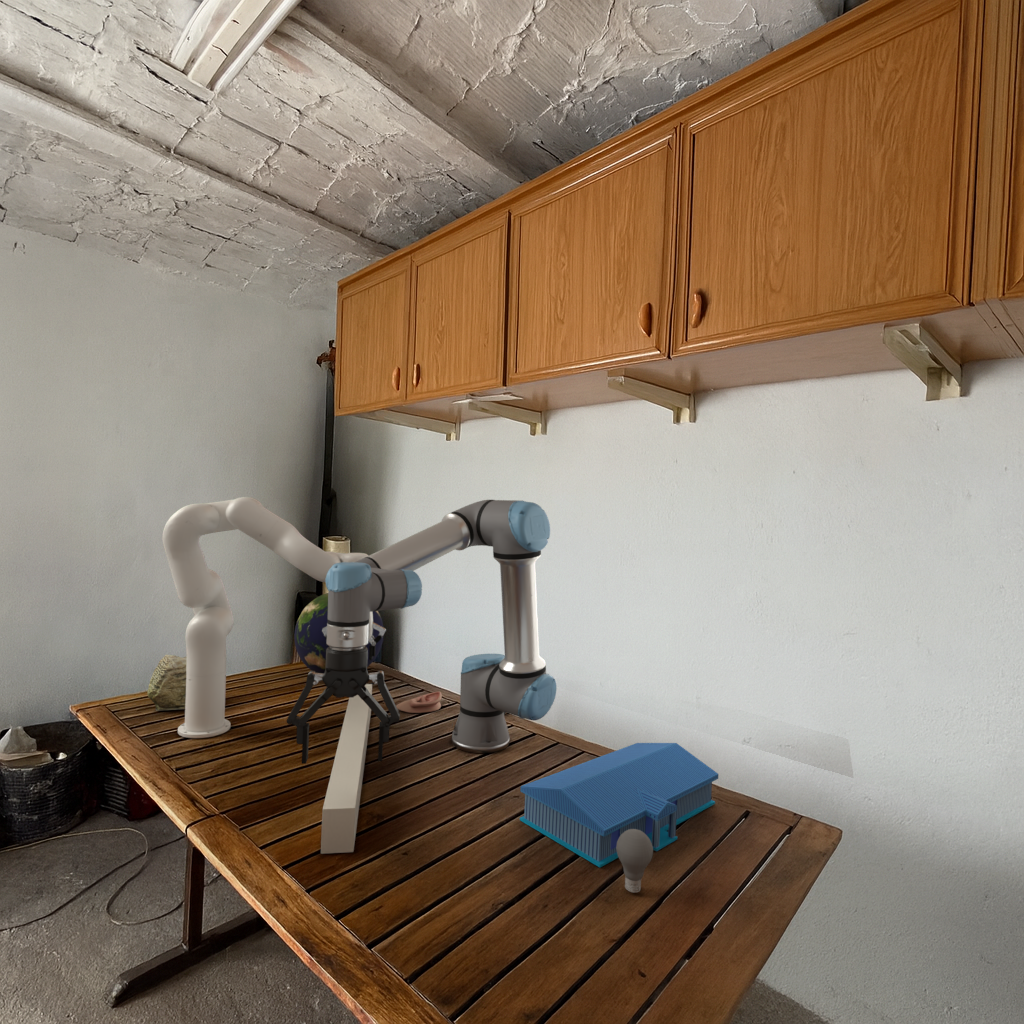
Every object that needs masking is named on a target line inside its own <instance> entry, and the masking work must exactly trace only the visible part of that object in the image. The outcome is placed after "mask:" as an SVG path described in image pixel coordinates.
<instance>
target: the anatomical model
mask: <svg viewBox="0 0 1024 1024" xmlns="http://www.w3.org/2000/svg"><path fill="white" fill-rule="evenodd" d="M442 698H443V693H442V692H441V691H434V692H429V693H425V694H422V695H419V696H417V697H413V698H411V699H407V700H404V701H402V702H401V701H400V702H399V703H398V704H395V705H396V707H397V709H398V711H401V712H405V713H408V714H409V713H410V714H411V713H412V714H417V713H418V714H419V713H420V714H421V713H431V712H435V711H438V710H439V709H441V707H442V704H441V700H442Z"/></svg>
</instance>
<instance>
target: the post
mask: <svg viewBox="0 0 1024 1024" xmlns="http://www.w3.org/2000/svg"><path fill="white" fill-rule="evenodd" d="M365 687H366V688H367V689H368V691H369V693H370V694H371V695H372V696H373V683H366V685H365ZM371 715H372V710H371V709H370V708H369V706H368V705H367V704H366V703H365V702H364V701H363V700H362V699H361V698H360V697H359V696H358V695H356V696H354V697H348V702H347V706H346V710H345V714H344V719H343V723H342V727H341V730H340V735H339V739H338V744H337V747H336V748H337V749H336V752H335V756H334V761H333V765H332V769H331V773H330V777H329V781H328V785H327V789H326V793H325V798H324V800H323V801H324V802H323V806H322V813H321V814H322V815H321V816H322V817H321V837H320V839H321V840H320V855H325V854H326V855H327V854H340V853H341V854H343V853H354V850H355V843H356V842H355V841H356V836H357V835H356V834H357V827H358V819H359V810H360V803H361V796H362V795H361V794H362V788H363V778H364V771H365V762H366V756H367V755H366V754H367V746H368V738H369V731H370V723H371Z"/></svg>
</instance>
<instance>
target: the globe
mask: <svg viewBox="0 0 1024 1024" xmlns="http://www.w3.org/2000/svg"><path fill="white" fill-rule="evenodd" d="M372 613H373V622H374V623H376V624H378V625H379V626H381V627H383V628H384V623H383V620H382V616H381V613H380V611H373V612H372ZM327 623H328V592H325V593H323V594H320V595H319V596H317V597H316V598H314V599H313V600H311V601H310V602H309V603H308V604H307V605H306V606H305V607H304V608H303V609H302V611H301V613H300V615H299V617H298V618H297V621H296V624H295V627H294V636H293V637H294V647H295V650H296V653H297V655H298V658H299V659H300V661H301V662H302V663H303V664H304V665H305V667H306V668H307V669H309V670H310V671H312V670H313V671H315V673H324V672H325V669H326V649H327V648H328V647H329V646H328V645H327V644H326V643H327V640H326V638H325V636H324V634H323V632H322V629H323V628H325V627H327ZM379 633H380V632H379V631H378V630H376V629H374V628H373V634H372V635H373V637H374V638H376V637H377V636H378V635H379ZM384 635H385V634H384ZM384 635H383V637H382V639H381V640H380V641H379V642H378V643H377V644H376V645H375V656H373V658H372V660H369V646H370V644H371V643H370V642H369V641H368V644H367V645H365V646H366V647H367V648H368V660H367V668H369V666H370V665H371V664H372V663H373V662H374V661H375V660H376V658H377V657H378V655H379V654H380V652H381V649H382V646H383V642H384Z"/></svg>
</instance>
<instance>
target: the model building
mask: <svg viewBox="0 0 1024 1024" xmlns="http://www.w3.org/2000/svg"><path fill="white" fill-rule="evenodd" d="M717 780H719V773H718V772H717V771H715V770H714V769H713V768H711V767H710V766H708V765H707V764H705V763H704V762H703V761H702V760H700V759H699V758H698V757H696V756H695V755H693V754H692V753H691V752H689V751H688V750H687V749H686V748H684V747H682V746H681V745H680V744H678V743H677V742H636V743H633V744H630V745H627V746H626V747H623V748H619V749H617V750H614V751H611V752H609V753H606V754H603V755H601V756H598V757H595V758H593V759H590V760H587V761H585V762H582V763H580V764H577V765H573V766H571V767H568V768H565V769H563V770H560V771H558V772H555V773H553V774H552V773H551V774H550V775H546V776H544V777H542V778H539V779H537V780H533V781H530V782H527V783H525V784H522V785H521V786H520V793H522V794H524V815H523V816H521V817H519V821H520V822H522V823H523V824H525V825H527V826H529V827H530V828H532V829H534V830H535V831H536V832H539V833H541V834H542V835H544V836H546V837H547V838H549V839H551V840H552V841H554V842H556V843H557V844H559V845H561V846H562V847H564V848H566V849H568V850H569V851H571V852H573V853H574V854H576V855H578V856H579V857H581V858H582V859H584V860H586V861H588V862H590V863H591V864H593V865H594V866H596V867H597V868H602V867H604V866H606V865H608V864H609V863H611V862H613V861H615V860H616V859H619V857H618V854H617V849H616V846H617V841H618V839H619V837H620V835H621V834H622V833H623V832H625V831H627V830H629V829H637V830H640V831H642V832H644V833H645V834H646V835H647V836H648V838H649V839H650V841H651V843H652V846H653V852H654V851H655V852H658V851H660V850H661V849H663V848H665V847H667V846H669V845H670V844H672V843H674V842H675V841H677V840H678V839H679V838H678V837H679V836H678V835H677V834H676V833H677V825H678V826H679V825H680V824H681V823H683V822H685V821H687V820H689V819H690V818H693V817H694V816H696V815H698V814H700V813H702V812H703V811H705V810H706V809H708V808H710V807H712V806H714V805H715V804H716V801H715V800H714V799H713V800H712V792H713V791H712V789H713V782H714V781H717Z"/></svg>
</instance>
